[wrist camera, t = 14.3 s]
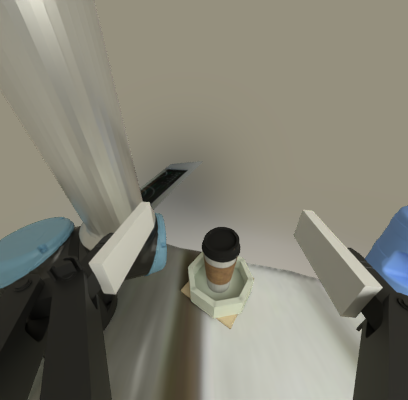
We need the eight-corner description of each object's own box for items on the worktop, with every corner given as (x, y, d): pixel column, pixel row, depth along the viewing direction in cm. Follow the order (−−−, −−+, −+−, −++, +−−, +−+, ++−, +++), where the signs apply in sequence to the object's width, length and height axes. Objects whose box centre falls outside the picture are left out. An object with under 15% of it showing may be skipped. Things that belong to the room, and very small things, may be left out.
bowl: (177, 292, 41) (175, 279, 38) (210, 253, 52) (210, 242, 49) (231, 334, 33) (234, 322, 31) (257, 279, 44) (260, 266, 42)
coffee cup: (241, 281, 42) (249, 237, 34) (220, 306, 36) (225, 260, 29) (216, 262, 47) (218, 221, 39) (195, 282, 41) (193, 238, 34)
